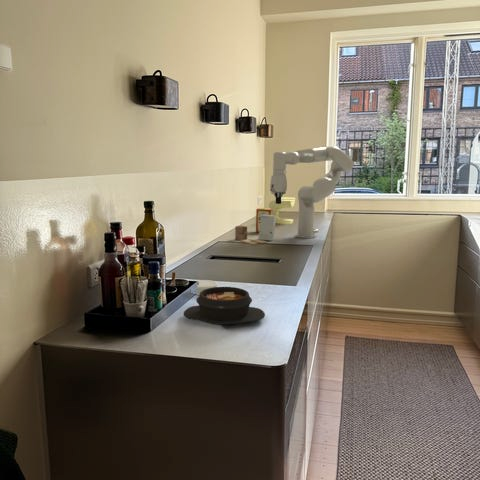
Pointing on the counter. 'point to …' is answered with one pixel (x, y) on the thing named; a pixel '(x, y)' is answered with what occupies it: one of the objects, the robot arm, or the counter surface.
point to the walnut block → (240, 232)
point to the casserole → (224, 307)
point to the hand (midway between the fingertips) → (278, 203)
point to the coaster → (205, 285)
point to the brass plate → (253, 241)
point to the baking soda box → (258, 216)
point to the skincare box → (267, 227)
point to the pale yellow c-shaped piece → (285, 203)
